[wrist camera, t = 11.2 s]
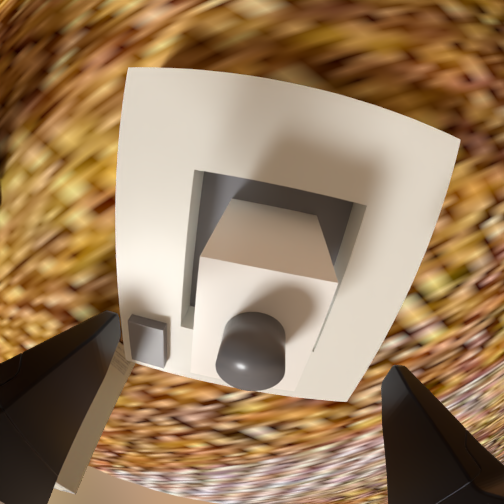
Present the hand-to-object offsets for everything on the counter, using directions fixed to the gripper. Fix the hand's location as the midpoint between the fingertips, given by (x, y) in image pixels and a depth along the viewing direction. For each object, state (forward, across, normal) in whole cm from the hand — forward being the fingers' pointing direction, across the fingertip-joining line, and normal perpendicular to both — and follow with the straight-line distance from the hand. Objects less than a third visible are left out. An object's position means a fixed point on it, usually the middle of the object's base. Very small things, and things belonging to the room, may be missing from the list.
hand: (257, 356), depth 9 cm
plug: (+7, 0, 0) cm, 7 cm away
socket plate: (+8, 0, 0) cm, 8 cm away
